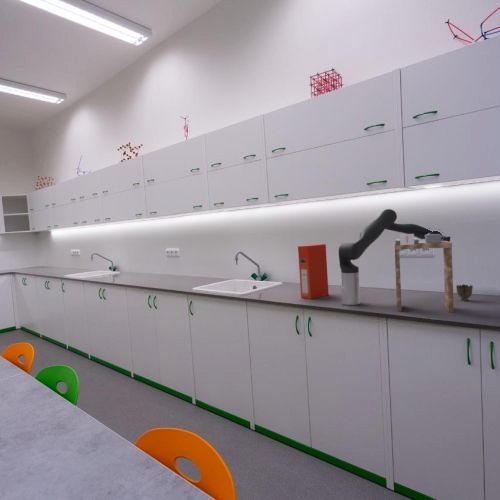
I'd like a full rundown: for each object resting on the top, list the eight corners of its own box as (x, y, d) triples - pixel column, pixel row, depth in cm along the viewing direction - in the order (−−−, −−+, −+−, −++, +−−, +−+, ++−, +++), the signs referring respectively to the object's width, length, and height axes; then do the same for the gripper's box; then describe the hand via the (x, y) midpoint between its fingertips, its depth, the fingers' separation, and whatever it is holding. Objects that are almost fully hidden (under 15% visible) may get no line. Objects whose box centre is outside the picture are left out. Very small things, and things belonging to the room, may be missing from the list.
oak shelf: (397, 311, 172) (394, 245, 170) (396, 305, 184) (394, 243, 182) (454, 312, 163) (451, 243, 161) (449, 306, 175) (447, 241, 173)
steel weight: (426, 243, 167) (426, 235, 167) (423, 241, 186) (423, 234, 185) (441, 243, 165) (440, 234, 165) (436, 241, 183) (435, 233, 183)
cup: (453, 300, 188) (452, 285, 188) (462, 298, 191) (462, 283, 191) (466, 302, 181) (466, 287, 181) (476, 300, 184) (476, 285, 184)
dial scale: (395, 245, 169) (395, 234, 169) (395, 243, 182) (395, 234, 181) (418, 244, 166) (418, 233, 166) (417, 242, 178) (416, 232, 178)
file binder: (300, 298, 220) (297, 246, 218) (318, 293, 231) (315, 244, 229) (311, 299, 214) (308, 246, 212) (328, 294, 225) (326, 244, 223)
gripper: (421, 230, 206) (421, 229, 191) (449, 232, 200) (451, 232, 185) (420, 243, 207) (419, 243, 192) (448, 245, 200) (449, 246, 186)
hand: (435, 237), depth 189 cm, fingers open, 8 cm apart
